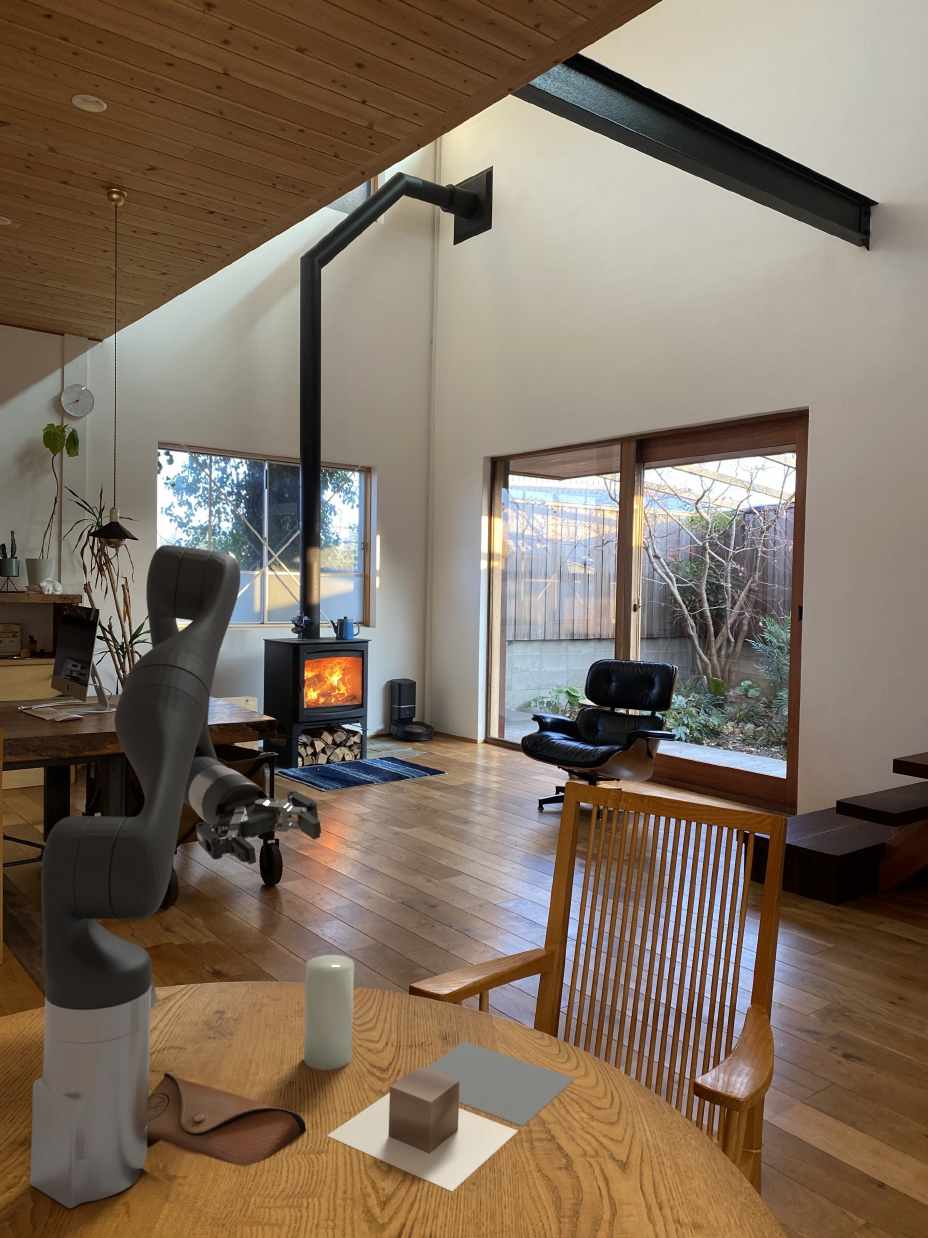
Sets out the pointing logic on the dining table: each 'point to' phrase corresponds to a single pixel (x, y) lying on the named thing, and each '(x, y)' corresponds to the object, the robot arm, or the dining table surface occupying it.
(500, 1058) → the slate mat
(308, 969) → the pale green pillar candle
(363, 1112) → the cream mat
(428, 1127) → the walnut block
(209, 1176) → the dining table surface
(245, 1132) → the sunglasses case
